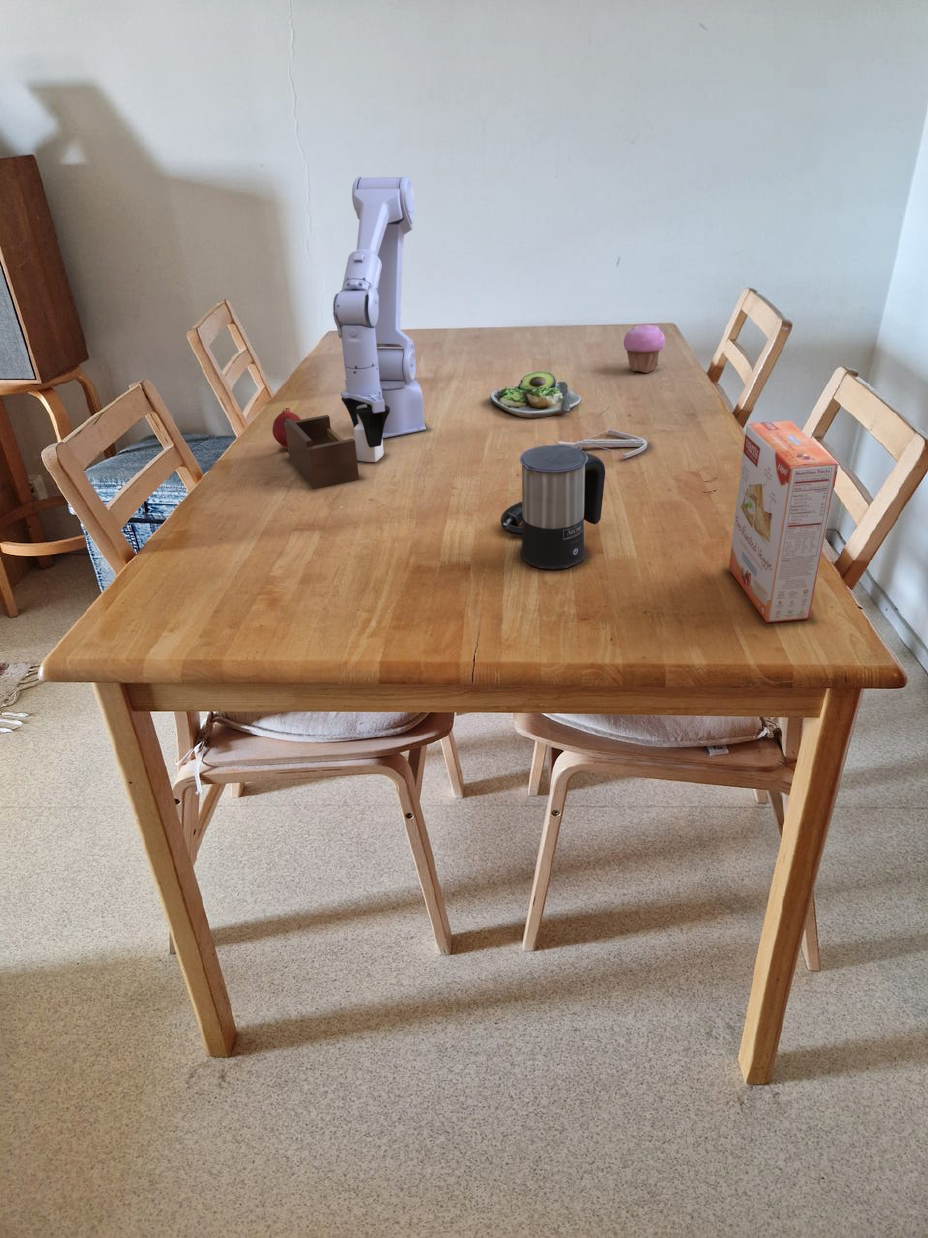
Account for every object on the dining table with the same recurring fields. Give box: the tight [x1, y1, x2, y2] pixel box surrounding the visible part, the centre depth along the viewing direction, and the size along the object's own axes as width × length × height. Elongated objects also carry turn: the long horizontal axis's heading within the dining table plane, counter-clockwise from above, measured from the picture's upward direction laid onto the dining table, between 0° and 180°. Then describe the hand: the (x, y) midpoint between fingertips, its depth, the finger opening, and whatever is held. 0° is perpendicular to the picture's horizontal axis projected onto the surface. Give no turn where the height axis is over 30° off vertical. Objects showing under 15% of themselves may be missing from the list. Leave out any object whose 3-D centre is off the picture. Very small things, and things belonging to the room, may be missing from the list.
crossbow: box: [557, 428, 648, 460], centre depth 160 cm, size 16×13×2 cm
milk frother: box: [500, 444, 606, 570], centre depth 126 cm, size 14×16×15 cm
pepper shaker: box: [353, 404, 385, 463], centre depth 158 cm, size 4×4×10 cm
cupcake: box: [623, 324, 666, 374], centre depth 196 cm, size 9×9×10 cm
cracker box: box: [728, 420, 839, 624], centre depth 110 cm, size 14×6×21 cm, turn 5°
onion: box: [272, 406, 302, 449], centre depth 164 cm, size 6×6×8 cm
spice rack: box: [284, 414, 360, 490], centre depth 155 cm, size 8×15×8 cm, turn 25°
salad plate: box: [489, 371, 581, 419], centre depth 180 cm, size 19×18×5 cm
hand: (368, 440), depth 159 cm, fingers open, 6 cm apart
